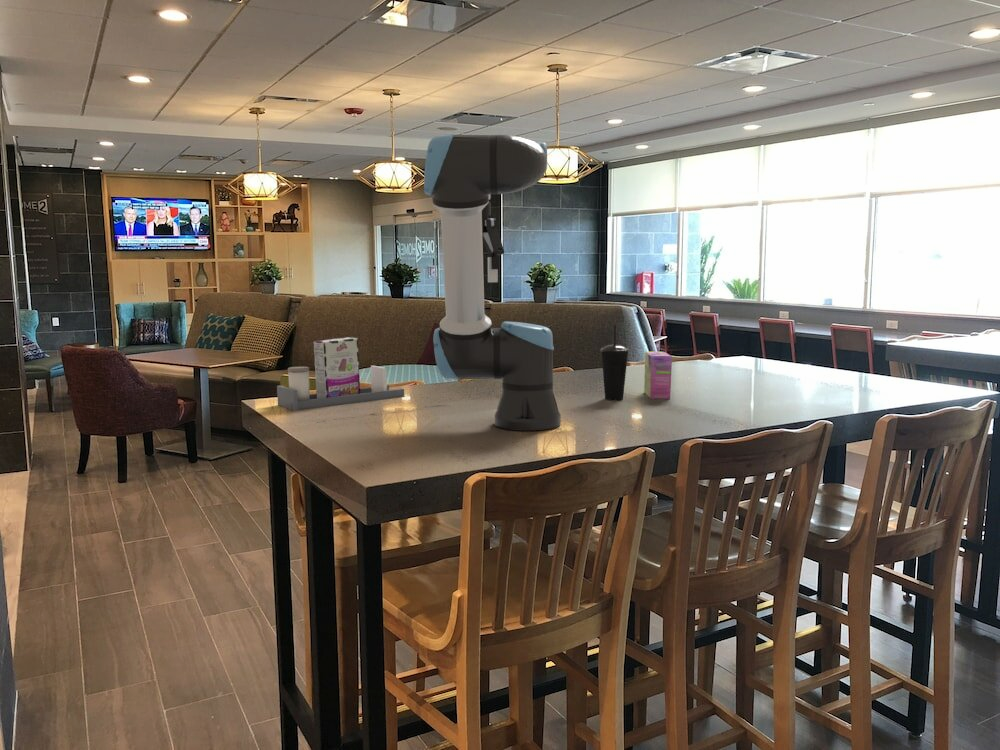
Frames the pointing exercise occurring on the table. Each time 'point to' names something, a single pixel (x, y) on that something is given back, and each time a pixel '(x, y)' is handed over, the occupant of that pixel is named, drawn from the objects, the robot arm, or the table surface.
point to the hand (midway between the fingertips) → (477, 282)
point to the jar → (299, 382)
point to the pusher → (378, 379)
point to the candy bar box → (336, 367)
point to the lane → (332, 398)
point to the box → (657, 375)
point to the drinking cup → (614, 369)
